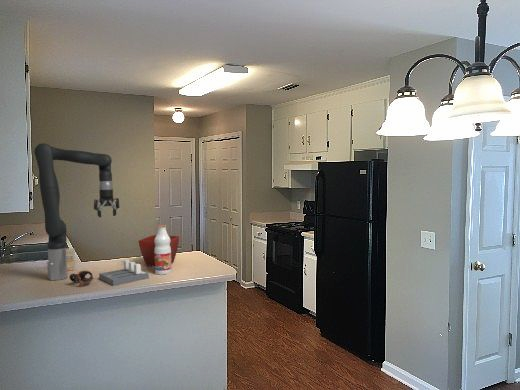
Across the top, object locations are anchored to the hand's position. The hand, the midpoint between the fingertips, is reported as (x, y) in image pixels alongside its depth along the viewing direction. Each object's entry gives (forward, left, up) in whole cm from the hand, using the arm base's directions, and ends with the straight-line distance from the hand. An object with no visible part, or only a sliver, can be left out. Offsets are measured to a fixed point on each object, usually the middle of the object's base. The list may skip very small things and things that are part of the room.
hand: (107, 216), depth 246 cm
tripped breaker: (+5, -19, -30) cm, 36 cm away
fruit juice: (+22, -24, -33) cm, 47 cm away
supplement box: (-16, +24, -33) cm, 44 cm away
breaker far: (+5, -13, -30) cm, 33 cm away
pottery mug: (-21, -14, -33) cm, 42 cm away
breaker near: (+5, -26, -30) cm, 40 cm away
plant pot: (+31, -4, -33) cm, 46 cm away
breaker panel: (0, -20, -33) cm, 38 cm away
